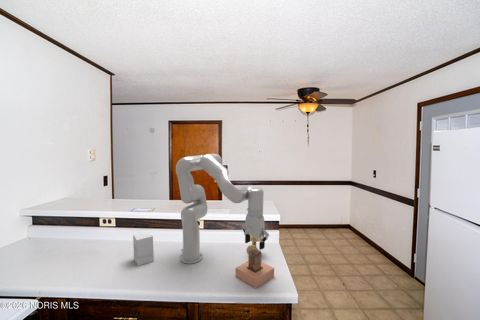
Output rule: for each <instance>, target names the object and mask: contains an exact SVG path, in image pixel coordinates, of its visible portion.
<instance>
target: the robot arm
mask: <svg viewBox="0 0 480 320" xmlns="http://www.w3.org/2000/svg"><path fill="white" fill-rule="evenodd" d="M199 170H203V171H205V172H206V173H207V174H208V175H209V176H210V177H212V178H213V179H214V180H215V182H217V186H218V188H219V190H220V192H221V194H222V195H223V196H224V197H225V198H226V199H228V200H229V201H230V202H231V203H233V204H241V203H243V202H245V201H247V209H246V210H247V213H246V216H245V222H244V224H242V225H241V227H242V231H243V234H244V239H245V240H244V243H245V244H248V243H250V242H251V241H250V235H251V236H254V237H256V238H259V239H260V241H259V244H258V246H259V249H258V250H260V251H262V250H263V249H265V246H266V244H265V243H266V241H267V240H268V238H269V237H270V234H269V233H268V231H267V230H266V228H265V227H266V225H265V223H266V222H265V218H264V190H263V188H261V187H252V186H249V185H240V186H237V187H236V186H235V185H234V184H233V183H232V182H231V181H230V180H229V177H228V176H229V172H230V171H229V169H228V168H226V166H224V164H223V159H222V157H221V156H220V154H217V153H206V154H201V155H200V154H199V155H188V156H184V157H181V158H180V159H178V161H177V162H176V165H175V174H176V176H177V180H178V181H177V182H178V187H179V195H180V200H181V202H183V204H189V205H187V206H184V208H182V209H181V212H180V219H181V223H182V249H181V250H180V251H181V252H182V254H181V256H180V257H179V259H180V262H181V263H184V264H189V265H190V264H197V263H199V262H201V261H202V259H203V254H202V253H201V252H200V251H201V250H200V245H201V244H200V243H201V242H200V241H201V240H200V239H201V238H200V234H201V233H200V226H199V224H198V220H200V219H202V218H204V217H205V216H206V215H207V213H208V204H207V203H208V202H207V198H206V197H207V196H206V192H205V189H204V187H203V186H202V185H200V184H195V181H194V177H193V175H192V173H191V172H194V171H199ZM191 203H192V204H191ZM261 237H262V238H263V239H262V238H261Z"/></svg>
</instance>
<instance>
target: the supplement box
mask: <svg viewBox="0 0 480 320" xmlns="http://www.w3.org/2000/svg"><path fill="white" fill-rule="evenodd" d="M132 238H133V239H132V243H133V260H134V262H135V264H136V265H137V266H138V267H139V266H142V265H146V264H150V263H153V262H154V261H155V258H154V256H155V255H154V235H152V234H151V233H150V232H149V231H146V232H141V233H137V234H132Z"/></svg>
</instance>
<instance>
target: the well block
mask: <svg viewBox="0 0 480 320" xmlns="http://www.w3.org/2000/svg"><path fill="white" fill-rule="evenodd" d="M248 267H249V260H248V261H246V262H244V263H241V264H240V265H238V266H236V267H235V268H234V269H235V270H234V271H235V272H234V273H235V274H234V276H235V277H236V278H237V279H239V280H241V281H243V282H245V283H246V284H248V285H250V286H251V287H253V288H255V289H257V288H258V287H260V286H261V285H263V284H264V283H266V282H268V281H269V280H271V279H272V278H274V277H275V267H272V266H271V265H269V264H266V263H265V262H263V261H261V270H259V271H258V272H256V273H255V272H253V271H251V270H249V269H248Z"/></svg>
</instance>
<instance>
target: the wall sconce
mask: <svg viewBox="0 0 480 320" xmlns="http://www.w3.org/2000/svg"><path fill="white" fill-rule="evenodd" d="M261 238H262V236H261ZM262 239H263V238H262ZM250 242H251V244H250V245H248V246H247V248H246V253H247V255H248V256H249V251H250V250H252V249H254V248H255V249H257V250H259V249H258V247H257V243H258V242H259V243H260V239H259V238H256V237H254V236H251V235H250Z"/></svg>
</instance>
